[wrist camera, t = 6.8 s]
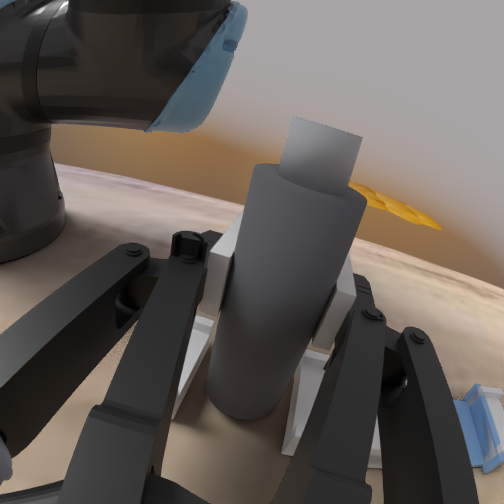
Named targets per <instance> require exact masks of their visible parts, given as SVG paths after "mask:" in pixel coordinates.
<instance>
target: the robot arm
mask: <svg viewBox="0 0 504 504" xmlns="http://www.w3.org/2000/svg"><path fill="white" fill-rule="evenodd" d="M246 20H247V8H246V7H244V6H243V5H240V3H239V2H235V1H232V2H231V0H0V262H5V261H9V260H13V259H16V258H19V257H22V256H25V255H27V254H30V253H32V252H34V251H36V250H38V249H40V248H42V247H43V246H45V245H47V244H48V243H49V242H51V241H52V240H53V239H55V238H56V237H57V236H58V235H59V233H60V232H61V231H62V229H63V227H64V224H65V203H64V197H63V194H62V192H61V191H60V188H59V183H58V178H57V174H56V170H55V167H54V163H53V159H52V155H51V151H50V138H51V126H52V124H73V125H90V126H104V127H116V128H128V129H136V130H144V132H147V133H148V132H152V131H167V132H178V133H184V132H189V131H191V130H193V129H195V128H197V127H199V126H200V125H201V124H202V123H203V122H204V121H205V119H206V118H207V116H208V114H209V113H210V111H211V109H212V107H213V105H214V103H215V101H216V99H217V96H218V94H219V92H220V90H221V87H222V85H223V83H224V80H225V78H226V76H227V73H228V71H229V68H230V66H231V63H232V60H233V58H234V51H235V50H236V48H237V45H238V42H239V41H240V39H241V36H242V34H243V31H244V28H245V24H246ZM243 212H244V210H243V211H242V212H241V214H240V215H239V216H238V217H237V218H236V220H235V221H234V222H233V223H232V225H231V226H230V227H229V228H228V229H227V231H226V232H225V233H224V234H221V233H218V232H215V231H211V230H209V231H206V232H203V233H202V234H200V233H196V232H192V231H180V232H177V233H175V234H174V235H173V238H172V246H171V255H170V257H169V259H158V258H151V257H150V250H149V249H148V248H147V247H146V246H144V245H141V244H138V243H127V244H123V245H120V246H118V247H117V248H115V249H114V250H113V251H111V252H110V253H108V254H107V255H105V256H104V257H102V258H101V259H99V260H98V261H96V262H95V263H94V264H92V265H91V266H89V267H88V268H86V269H85V270H84V271H82V272H81V273H79V274H78V275H77V276H75V277H74V278H72V279H71V280H70V281H68V282H67V283H66V284H64V285H63V286H62V287H60V288H59V289H57V290H56V291H55V292H53V293H52V294H51V295H50V296H48V297H47V298H46V299H44V300H43V301H42V302H40V303H39V304H38V305H36V306H35V307H34V308H33V309H31V310H30V311H29V312H28V313H26V314H25V315H24V316H22V317H21V318H20V319H19V320H17V321H16V322H15V323H14V324H13V325H11V326H10V327H9V328H8V329H6V330H5V331H4V332H3V333H2V334H0V485H1V483H2V482H3V481H4V480H9V479H10V478H11V477H12V474H13V470H12V460H11V459H12V458H13V457H15V456H16V455H18V454H19V453H20V452H21V451H22V450H24V449H25V448H26V447H27V446H28V445H29V444H30V443H31V442H32V441H33V440H34V439H35V438H36V436H37V435H38V434H39V433H40V432H41V430H42V429H43V428H44V427H45V426H46V424H47V423H48V422H49V421H50V420H51V418H52V417H53V416H54V415H55V414H56V412H57V411H58V410H59V409H60V408H61V406H62V405H63V404H64V403H65V402H66V400H67V399H68V398H69V397H70V396H71V395H72V393H73V392H74V391H75V390H76V389H77V388H78V386H79V385H80V384H81V383H82V382H83V381H84V380H85V378H86V377H87V376H88V375H89V374H90V373H91V371H92V370H93V369H94V368H95V367H96V366H97V365H98V364H99V362H100V361H101V360H102V359H103V358H104V357H105V356H106V354H107V353H108V352H109V351H110V350H111V349H112V348H113V347H114V346H115V344H116V343H117V342H118V341H119V340H120V339H121V338H122V337H123V336H124V334H125V333H126V332H127V331H128V330H129V329H130V328H131V327H132V326H133V325H134V323H135V322H136V321H137V320H138V319H139V320H138V322H137V324H136V327H135V329H134V331H133V333H132V335H131V338H130V340H129V342H128V344H127V346H126V349H125V351H124V353H123V356H122V358H121V360H120V362H119V365H118V367H117V369H116V372H115V374H114V377H113V379H112V381H111V384H110V386H109V389H108V391H107V394H106V396H105V399H104V401H103V403H102V404H101V405H95V406H94V407H93V408H92V409H91V411H90V413H89V415H88V417H87V419H86V422H85V424H84V427H83V429H82V432H81V435H80V437H79V440H78V442H77V445H76V448H75V450H74V453H73V456H72V459H71V462H70V464H69V467H68V470H67V473H66V476H65V479H64V480H61V481H57V482H54V483H50V484H46V485H42V486H38V487H34V488H30V489H26V490H21V491H17V492H12V493H7V494H1V495H0V504H210V503H208V502H207V501H205V500H203V499H201V498H200V497H198V496H196V495H195V494H193V493H191V492H190V491H188V490H186V489H185V488H183V487H182V486H180V485H178V484H177V483H175V482H173V481H170V480H168V479H165V478H163V477H161V469H162V462H163V457H164V452H165V447H166V442H167V437H168V433H169V428H170V423H171V419H172V414H173V409H174V405H175V400H176V396H177V392H178V387H179V383H180V379H181V374H182V370H183V366H184V362H185V357H186V353H187V349H188V345H189V341H190V337H191V333H192V329H193V325H194V321H195V317H196V311H197V306H198V305H199V303H200V302H201V304H200V311H203V312H206V313H208V314H211V315H214V316H218V314H219V312H220V310H221V308H222V305H223V300H224V296H225V291H226V287H227V282H228V278H229V273H230V269H231V264H232V260H233V256H234V251H235V246H236V242H237V237H238V233H239V229H240V225H241V220H242V216H243ZM334 340H335V348H334V350H333V352H332V354H331V355H330V357H329V359H328V361H327V362H326V364H325V366H324V368H323V370H325V373H324V376H323V379H322V381H321V384H320V387H319V390H318V393H317V396H316V398H315V401H314V404H313V407H312V409H311V412H310V415H309V417H308V420H307V423H306V425H305V428H304V430H303V433H302V435H301V438H300V440H299V443H298V445H297V447H296V450H295V452H294V455H293V457H292V459H291V461H290V464H289V466H288V468H287V471H286V473H285V475H284V477H283V479H282V482H281V484H280V486H279V488H278V490H277V492H276V494H275V496H274V498H273V499H272V501H271V502H270V504H370V502H371V498H372V488H371V486H370V485H368V484H366V483H365V475H366V471H367V466H368V462H369V457H370V452H371V447H372V442H373V436H374V430H375V424H376V418H377V419H378V428H379V437H380V448H381V460H382V474H383V492H384V504H479V501H478V495H477V489H476V484H475V479H474V475H473V470H472V466H471V461H470V457H469V453H468V449H467V445H466V441H465V438H464V434H463V431H462V427H461V424H460V420H459V417H458V414H457V411H456V407H455V404H454V401H453V398H452V395H451V392H450V389H449V387H448V384H447V381H446V378H445V375H444V373H443V370H442V367H441V365H440V362H439V359H438V357H437V354H436V352H435V349H434V347H433V344H432V342H431V340H430V338H429V337H428V335H426V334H425V332H424V331H421V329H419V328H415V327H406V328H405V329H404V331H403V332H402V334H401V333H399V332H397V331H395V330H393V329H391V328H389V327H388V326H386V318H385V316H384V315H383V313H382V312H381V311H380V310H378V309H377V308H375V304H374V299H373V296H372V291H371V287H370V283H369V282H368V281H367V279H366V278H365V277H364V276H361V275H358V274H355V273H353V271H352V266H351V260H350V255H349V252H348V255H347V257H346V260H345V262H344V265H343V267H342V270H341V272H340V275H339V277H338V279H337V282H336V284H335V287H334V289H333V291H332V293H331V296H330V298H329V300H328V303H327V305H326V307H325V309H324V312H323V314H322V316H321V318H320V320H319V323H318V325H317V327H316V329H315V331H314V333H313V336H312V346H315V347H319V348H323V349H326V350H330V348H331V346H332V344H333V342H334ZM406 380H407V385H406V383H405V381H406Z"/></svg>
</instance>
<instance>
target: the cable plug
mask: <svg viewBox="0 0 504 504" xmlns="http://www.w3.org/2000/svg"><path fill="white" fill-rule="evenodd" d="M361 141H362V137H360V136H357V135H354V134H351V133H348V132H345V131H342V130H339V129H336V128H333V127H330V126H327V125H323V124H320V123H317V122H313V121H310V120H306V119H303V118H298V117H295V116H292V119H291V123H290V127H289V131H288V134H287V138H286V142H285V146H284V150H283V153H282V157H281V161H280V165H278V164H258V165H256V166H255V167H254V170H253V174H252V178H251V183H250V187H249V191H248V195H247V199H246V203H245V207H244V212H243V216H242V220H241V225H240V229H239V233H238V237H237V242H236V246H235V251H234V256H233V260H232V264H231V269H230V273H229V278H228V282H227V287H226V291H225V296H224V300H223V305H222V308H221V313H220V318H219V322H218V327H217V331H216V336H215V341H214V345H213V350H212V355H211V359H210V364H209V369H208V374H207V378H206V392H207V395H208V397H209V399H210V401H211V402H212V403H213V404H214V406H215V407H216V408H218V409H219V410H220V411H222V412H223V413H225V414H227V415H229V416H232V417H234V418H238V419H245V420H251V419H258V418H261V417H264V416H266V415H268V414H270V413H271V412H272V411H273V410H274V409H275V408H276V406H277V405H278V403H279V401H280V399H281V397H282V395H283V394H284V392H285V390H286V388H287V386H288V384H289V382H290V380H291V378H292V376H293V374H294V372H295V370H296V368H297V366H298V364H299V362H300V360H301V358H302V356H303V354H304V352H305V350H306V348H307V346H308V344H309V342H310V340H311V338H312V336H313V333H314V331H315V329H316V327H317V325H318V323H319V320H320V318H321V316H322V314H323V312H324V309H325V307H326V305H327V303H328V300H329V298H330V296H331V293H332V291H333V289H334V287H335V284H336V282H337V279H338V277H339V275H340V272H341V270H342V267H343V265H344V262H345V260H346V257H347V255H348V252H349V250H350V247H351V245H352V242H353V240H354V237H355V234H356V231H357V229H358V227H359V224H360V221H361V218H362V216H363V213H364V210H365V207H366V205H367V200H366V198H365V197H364V196H363V195H361V194H360V193H359V192H357V191H356V190H354V189H352V188H350V187H349V186H348V183H349V180H350V177H351V174H352V171H353V168H354V165H355V161H356V158H357V155H358V151H359V148H360V145H361Z"/></svg>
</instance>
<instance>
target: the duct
mask: <svg viewBox="0 0 504 504" xmlns="http://www.w3.org/2000/svg"><path fill="white" fill-rule="evenodd" d="M214 322H215V321H213V320H210V319H207V318H204V317H201V316H198V315H196V317H195V321H194V325H193V329H192V333H191V337H190V341H189V345H188V349H187V353H186V357H185V362H184V366H183V370H182V374H181V379H180V383H179V387H178V392H177V396H176V400H175V405H174V409H173V414H172V420H173V419H174V417H175V415H176V412H177V410H178V408H179V406H180V404H181V402H182V400H183V398H184V396H185V394H186V392H187V390H188V388H189V386H190V384H191V382H192V380H193V378H194V376H195V374H196V372H197V370H198V368H199V366H200V364H201V362H202V360H203V358H204V356H205V354H206V352H207V349H208V347H209V345H210V341H211V336H212V331H213V326H214ZM329 357H330V355H326V354H322V353H318V352H315V351H311V350H307V349H306V351H305V353H304V355H303V357H302V359H301V361H300V363H299V365H298V367H297V369H296V371H295V377H294V383H293V390H292V396H291V403H290V409H289V415H288V420H287V426H286V432H285V437H284V443H283V448H282V453H281V454H285V455H290V456H293V455H294V452H295V450H296V447H297V445H298V443H299V440H300V438H301V435H302V433H303V430H304V428H305V425H306V423H307V420H308V417H309V415H310V412H311V409H312V407H313V404H314V401H315V398H316V396H317V393H318V390H319V387H320V384H321V381H322V379H323V376H324V373H325V370H323V368H324V366H325V364H326V362H327V361H328V359H329ZM405 383H406V385H407V380H406V381H405ZM503 395H504V392H503V390H502V388H493V387H486V386H481V385H480V384H475V385H474V386H473V387H472V389H471V390H470V391H469V392H468V393H467V394H466V395H465V397H464V401H460V400H453V401H454V404H455V407H456V411H457V414H458V417H459V420H460V424H461V427H462V431H463V434H464V438H465V441H466V445H467V449H468V453H469V457H470V461H471V466H472V467H479V466H482V468H483V472H484V474H486V473H490V472H491V471H492V470H494V469H495V468H496V467H498V466H499V465H500V464H504V409H503V407H502V404H501V402H500V398H501V397H502V396H503ZM367 467H370V468H382V460H381V448H380V437H379V428H378V419H377V418H376V424H375V430H374V436H373V442H372V447H371V452H370V457H369V462H368V466H367Z"/></svg>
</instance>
